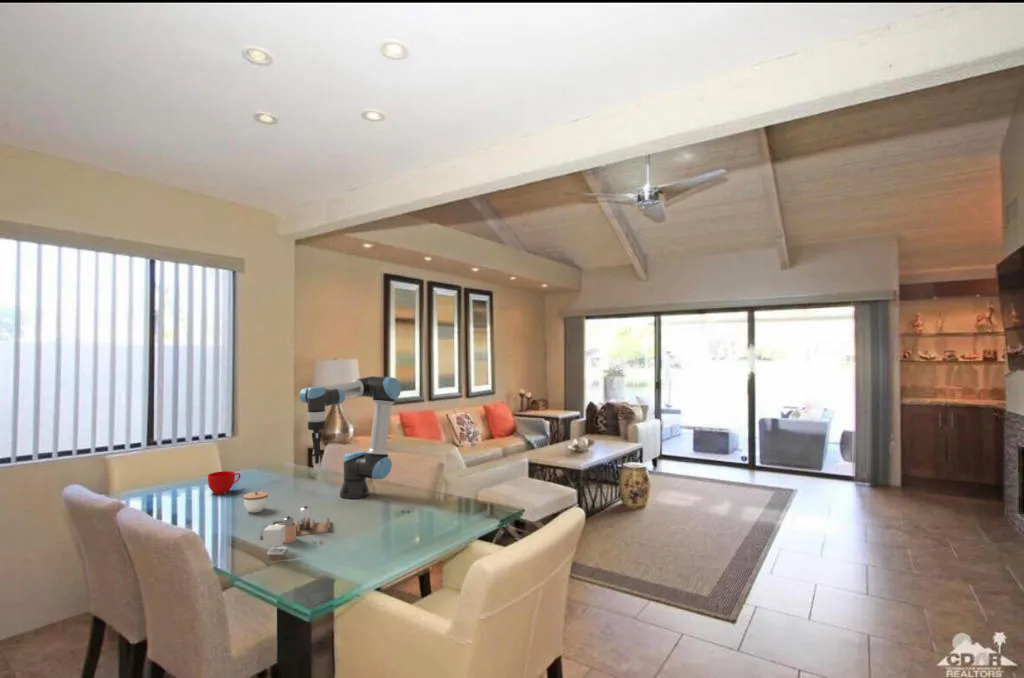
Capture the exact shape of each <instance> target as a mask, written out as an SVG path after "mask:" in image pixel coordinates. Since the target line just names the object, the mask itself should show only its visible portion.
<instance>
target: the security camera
mask: <svg viewBox="0 0 1024 678" xmlns="http://www.w3.org/2000/svg"><path fill="white" fill-rule="evenodd" d="M285 528H286V526H285V525H273V524H269V526H268V527H266V528H265V529H264V531H263V539H262V547H268V546H269V547H270V546H271V548H270V549H269V550H268V551H267V552H266V553H267V556H276V555H277V556H280V555H283V554H284V553H285V552H286V551H287V549H288V548H287V546H285V547H283V546H281V545H283V544H284V543H283V542H284V541H285ZM272 546H273V547H272Z"/></svg>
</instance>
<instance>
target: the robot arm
mask: <svg viewBox="0 0 1024 678" xmlns="http://www.w3.org/2000/svg"><path fill="white" fill-rule="evenodd" d="M401 390H402V388H401V384H400V382H399V381H398V379H397V378H396V377H393V376H392V377H391V376H374V375H373V376H371V375H370V376H367V377H361V378H357V379H353V380H352V381H350V382H343V383H337V384H331V385H324V386H310V387H304V388H302V389H301V390H300V392H299V400H300V401H301V402H302V403H304V404H307V413H306V416H307V420H308V421H307V430H309V431H312V432H311V438H312V455H311V456H312V465H313V472H314V471H315V472H316V471H320V470H321V442H322V440H321V438H322V432H320V430H321V431H322V430H325V429H326V407H328V406H336V405H340V404H343V402H344V401H345V400H346V398H349V397H355V398H359V397H366V398H372V402H373V403H374V411H373V417H372V418H373V419H372V427H371V434H370V442H369V449H368V450H367V451H365V450H362V451H352V452H349V453H345V454H344V457H343V482H342V485H341V487H340V491H339V497H340V498H341V497H343V498H342V499H345V498H357V499H360V498H359V497H363V498H365V497H364V496H366V495H368V494H369V495H370V490H369V486H368V483H367V479H373V480H383V479H386V477H388V475H390V472H391V469H392V467H393V463H392V460H391V458H389V452H388V451H387V444H388V436H389V435H388V434H389V429H390V428H389V427H390V420H391V411H392V405H393V404H395V402H396V400H397V399H398V398H399V396H401V393H402V392H401ZM369 495H368V496H369ZM366 497H367V496H366Z"/></svg>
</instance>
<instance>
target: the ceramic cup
mask: <svg viewBox="0 0 1024 678" xmlns="http://www.w3.org/2000/svg"><path fill="white" fill-rule="evenodd" d="M237 475H238V477H237V478H236V480H235V477H236V476H237ZM240 479H241V474H240V473H239V472H235V471H233V470H231V471H228V470H227V471H226V470H224V471H216V472H211V473H209V474H207V483H208V484H207V485H208V488H209V489H210V491H211V492H212V493H213V494H215V495H222V494H227V493H228V492H229V491H230V490H231V489H232V487H233V485H234V484H235V483H238V481H239V480H240Z"/></svg>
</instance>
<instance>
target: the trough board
mask: <svg viewBox="0 0 1024 678" xmlns="http://www.w3.org/2000/svg"><path fill="white" fill-rule="evenodd" d="M315 521H316V520H315V519H312V522H310V529H309V530H300V524H301V520H298V521H297V522H296V537H298V536H300V537H301V536H306V535H307V536H308V535H317V534H325V533H326V534H327V533H331V523H330V518H329V517H327V518H326V521H318V522H315Z"/></svg>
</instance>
